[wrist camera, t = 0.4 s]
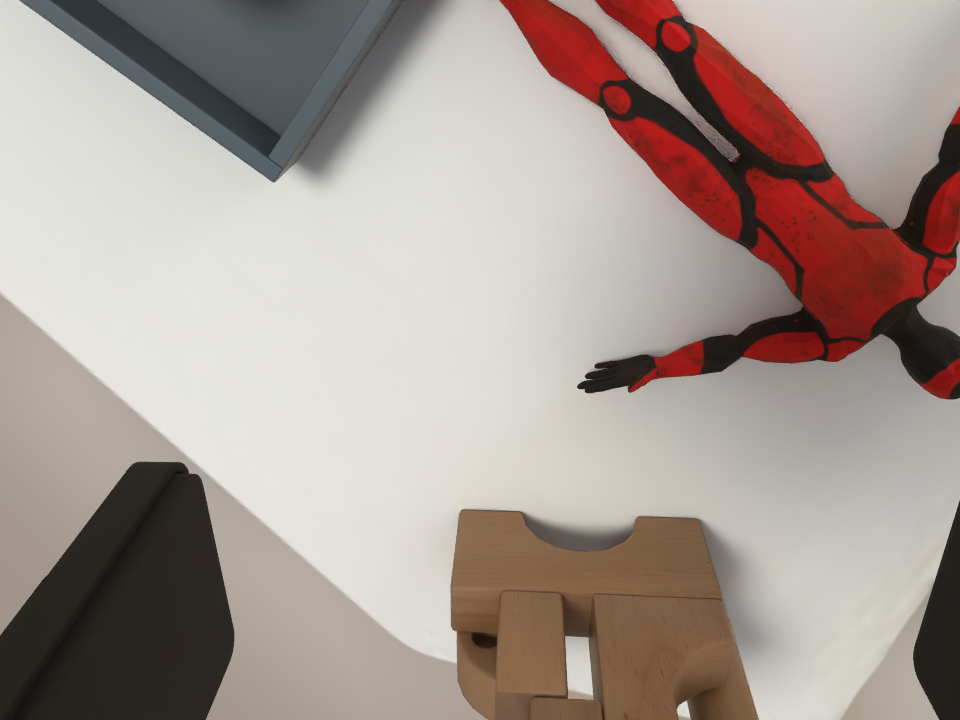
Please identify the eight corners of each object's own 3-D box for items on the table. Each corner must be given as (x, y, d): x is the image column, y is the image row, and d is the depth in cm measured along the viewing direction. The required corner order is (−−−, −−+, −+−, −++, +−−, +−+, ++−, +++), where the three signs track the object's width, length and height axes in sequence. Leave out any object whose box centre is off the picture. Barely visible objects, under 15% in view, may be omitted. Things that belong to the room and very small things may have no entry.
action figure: (757, -504, 23) (1320, 204, 29) (719, -405, 29) (1194, 166, 35) (259, 167, 33) (763, 590, 39) (307, 138, 39) (737, 510, 45)
